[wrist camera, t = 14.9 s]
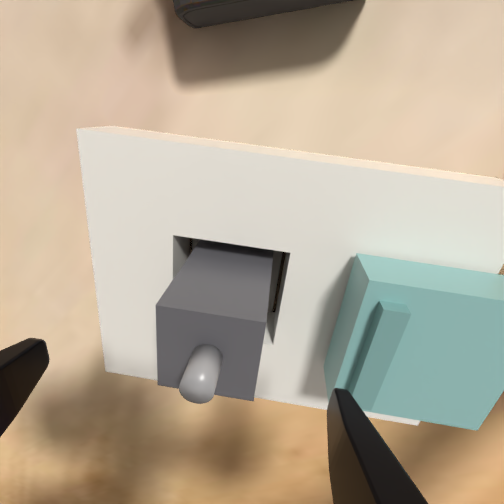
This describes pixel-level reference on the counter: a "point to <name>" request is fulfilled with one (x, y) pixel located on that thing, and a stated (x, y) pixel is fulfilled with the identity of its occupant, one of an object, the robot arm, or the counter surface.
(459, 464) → the counter surface
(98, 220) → the socket plate
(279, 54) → the counter surface
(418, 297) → the block
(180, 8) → the electronic device
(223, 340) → the plug
